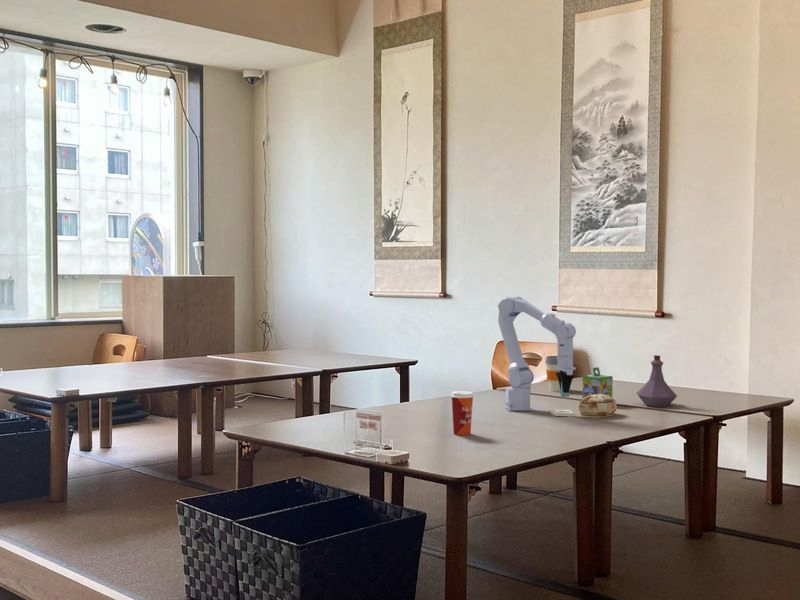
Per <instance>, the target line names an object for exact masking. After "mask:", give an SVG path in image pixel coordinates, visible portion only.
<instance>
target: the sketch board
mask: <svg viewBox="0 0 800 600" xmlns="http://www.w3.org/2000/svg"><path fill="white" fill-rule="evenodd" d="M549 413H550V414H551V415H552V414H553V415H552V416H554V415H555V416H568V417H575V413H574V412H573V411H571V410H570V409H550V411H549ZM555 416H554V417H555Z"/></svg>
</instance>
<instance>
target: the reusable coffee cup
mask: <svg viewBox="0 0 800 600" xmlns="http://www.w3.org/2000/svg"><path fill="white" fill-rule="evenodd" d="M557 356H558V355H549V356H545V364H546V369H545V371H546V373H545V374H546V379H547V381H548V389H549V390H548V391H550V392H555V393H561V390H560V385H559V381H558V378H557V375H556V373H560V371H558V370H557ZM574 364H575V362H574V358H573V365H574ZM570 390H571V389H570ZM570 390H569V392H570Z"/></svg>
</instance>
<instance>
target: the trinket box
mask: <svg viewBox="0 0 800 600" xmlns="http://www.w3.org/2000/svg"><path fill="white" fill-rule="evenodd" d="M617 405H618V404H617V401H616V400H615V399H614V398H613V396H612V397H610V396H608V395H604V394H593V395H588V396H586V397H585V398H583V397H582V399H581V400H580V401H579V403H578V411H579V414H580V416H581V417H582V416H583V418H589V417H591V418H592V419H594V418H595V419H597V418H599V419H601V418H607V417H612V416H614V415H615V412H616V410H617V407H618V406H617Z"/></svg>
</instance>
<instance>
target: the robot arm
mask: <svg viewBox="0 0 800 600" xmlns="http://www.w3.org/2000/svg"><path fill="white" fill-rule="evenodd" d="M497 308H498V317H497V323H498V326H499V329H500V332H501V336H502V339H503V343H504V346H505V347H504V348H505V350H506V353H507V358H508V360H509V367H508V368H507V372H508V376H507V377H508V382H509V384H510V386H507V387H505V406H504V407H505V409H506V410H507V411H509V412H512V411H513V412H515V411H516V412H517V411H525V412H526V411H531V412H533V410H534V409H533V408H532V407H531V386H532V383H533V381H534V378H535V375H534V373H533V371H532V370H531V369H530V365H529V364H528V363H527V362H526V361H525V360H524V357H523V352H522V350H521V345H520V342H519V340H518V339H519V338H518V336H517V332H516V329H515V326H514V321H515V319H516V318H517V317H518V316H519V315H520V314H521V313H524V314H526V315H528V316H529V317H532V318H534V319H535V320H537V321H539V322H540V325H541V327H543V328H544V329H546V330H548V331H549V332H551V333H552V334H554V335H555V338H556V340H557V355H556V356H557V370H558V371H560V373H556V375H557V378H558V381H559V385H560V390H561V383H562V390H563V393H569V394H570V391H569V390H571V385H572V382H573V379H574V378H575V376H576V375H575V374H574V370H577V368H576V367H574V364H573V359H574V337H575V336H576V334H577V333H576V332H577V330H576V327H575V325H573V324H572V323H568V322H567V323H566V321H565V320H564V319H562V320H561V319H560V318H558V317H557V316H556V314H555V313H549V312H547V313H545V312H543V311H542V310H540V309H539V308H537V307H536V306H534V305H533V304H532V303H530V302H529V301H528V300H527V299H524V298H522V297H521V296H512V297H508V296H507V297H503V298H502V299H500V301H499V302H498V305H497Z"/></svg>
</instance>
